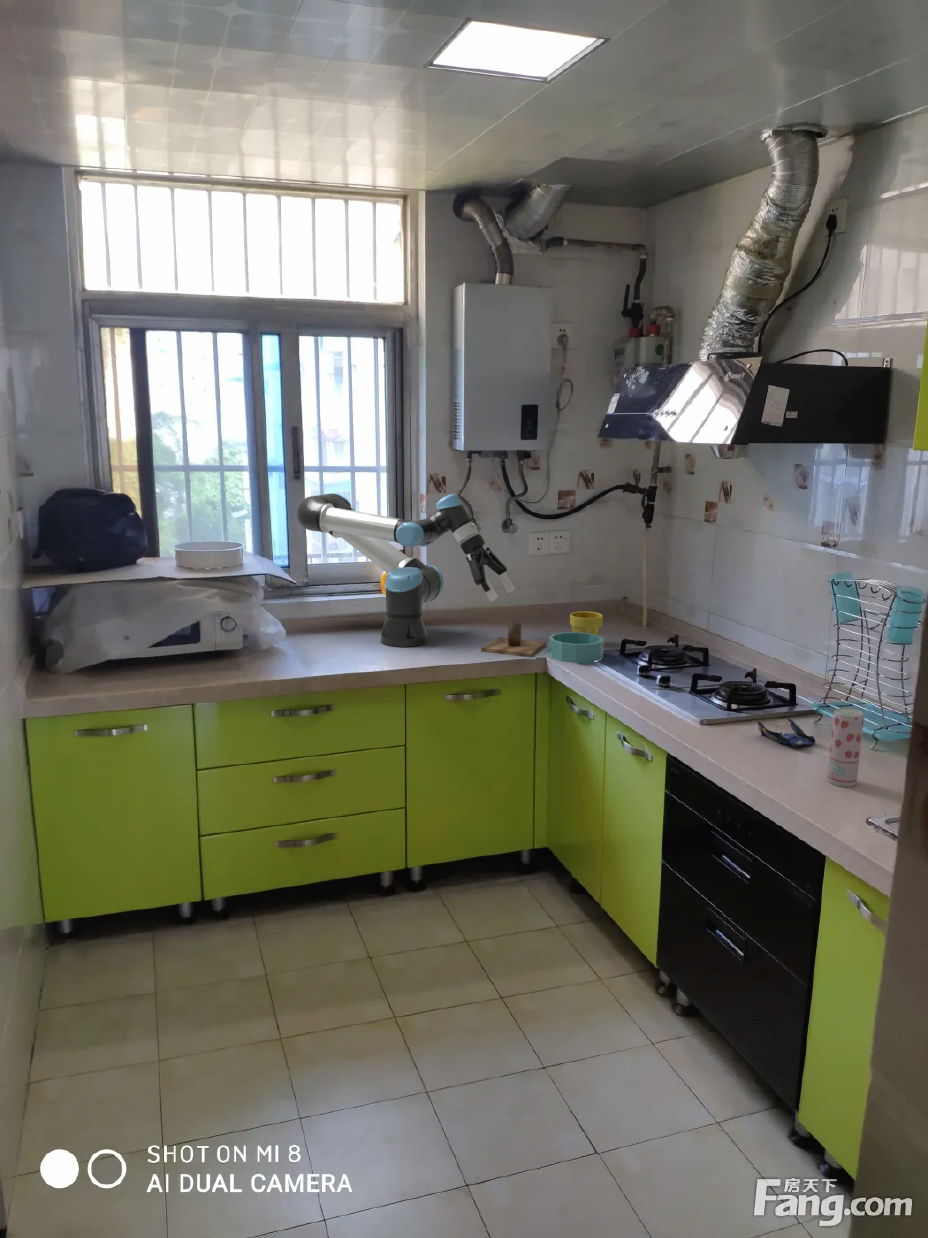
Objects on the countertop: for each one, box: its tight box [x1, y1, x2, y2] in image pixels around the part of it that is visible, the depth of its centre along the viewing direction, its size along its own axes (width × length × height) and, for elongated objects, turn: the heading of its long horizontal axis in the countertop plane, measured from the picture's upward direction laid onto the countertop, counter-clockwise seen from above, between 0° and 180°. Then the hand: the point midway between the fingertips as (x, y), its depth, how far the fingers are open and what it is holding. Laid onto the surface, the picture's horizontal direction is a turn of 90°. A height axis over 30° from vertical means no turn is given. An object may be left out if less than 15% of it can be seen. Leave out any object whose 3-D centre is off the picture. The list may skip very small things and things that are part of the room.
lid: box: [480, 621, 547, 657], centre depth 293 cm, size 16×16×8 cm
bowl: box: [548, 631, 605, 665], centre depth 285 cm, size 16×16×6 cm
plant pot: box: [569, 610, 604, 636], centre depth 302 cm, size 10×10×10 cm
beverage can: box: [826, 707, 864, 788], centre depth 189 cm, size 6×6×15 cm
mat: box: [472, 638, 549, 660], centre depth 293 cm, size 20×20×1 cm
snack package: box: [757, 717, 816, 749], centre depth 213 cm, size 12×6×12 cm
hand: (503, 595), depth 300 cm, fingers open, 13 cm apart
